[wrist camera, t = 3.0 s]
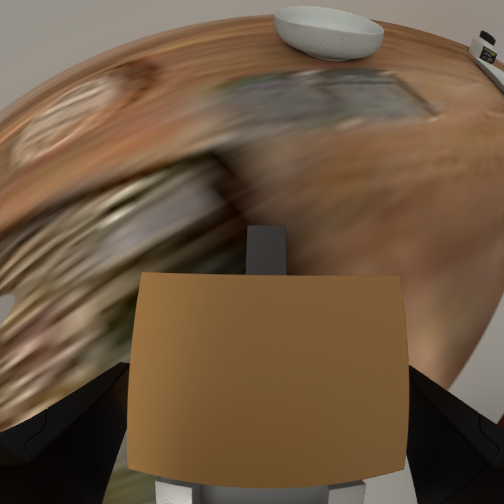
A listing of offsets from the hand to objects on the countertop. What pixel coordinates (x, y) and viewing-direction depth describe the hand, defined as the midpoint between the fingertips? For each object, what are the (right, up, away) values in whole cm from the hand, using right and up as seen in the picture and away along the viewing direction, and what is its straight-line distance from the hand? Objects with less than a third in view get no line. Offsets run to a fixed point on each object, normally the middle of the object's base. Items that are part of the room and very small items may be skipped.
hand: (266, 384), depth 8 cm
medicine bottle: (+76, +69, +40) cm, 110 cm away
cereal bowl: (+11, +36, +27) cm, 46 cm away
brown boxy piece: (0, 0, +8) cm, 8 cm away
